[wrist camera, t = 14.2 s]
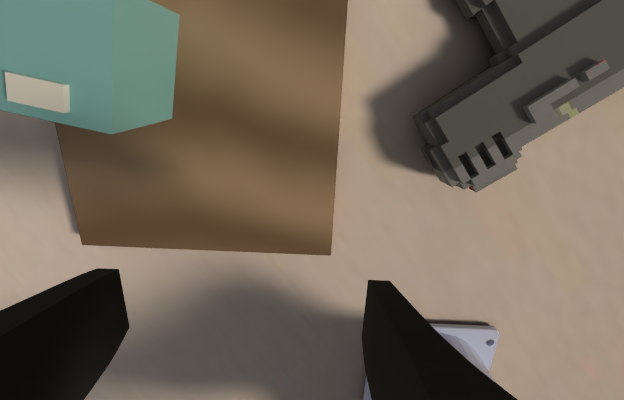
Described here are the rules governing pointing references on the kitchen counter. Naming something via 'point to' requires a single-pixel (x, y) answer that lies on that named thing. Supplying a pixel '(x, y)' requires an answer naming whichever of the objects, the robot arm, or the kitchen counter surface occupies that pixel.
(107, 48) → the teal cube
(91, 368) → the robot arm
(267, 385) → the kitchen counter surface
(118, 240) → the board
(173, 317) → the kitchen counter surface
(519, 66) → the toy gun
